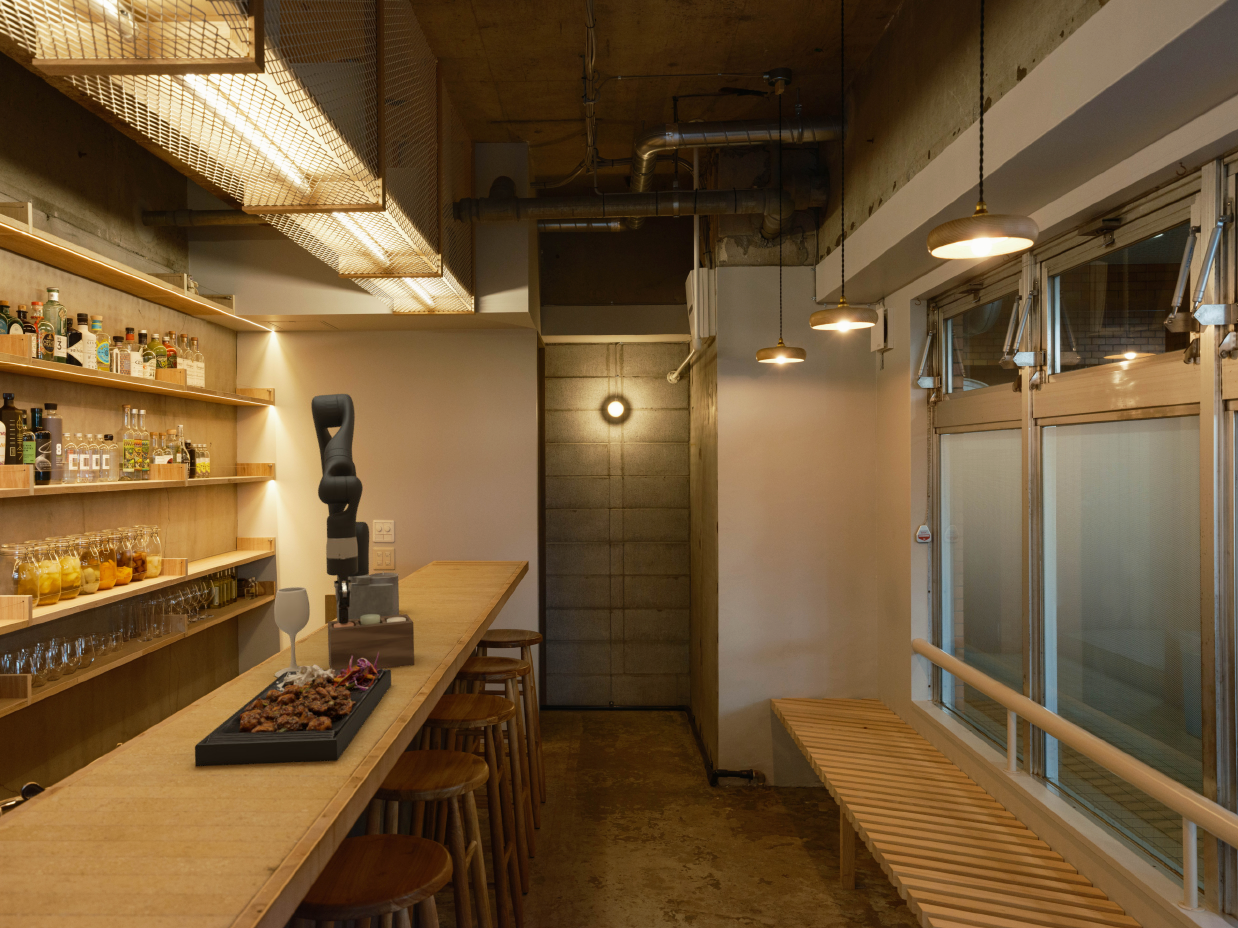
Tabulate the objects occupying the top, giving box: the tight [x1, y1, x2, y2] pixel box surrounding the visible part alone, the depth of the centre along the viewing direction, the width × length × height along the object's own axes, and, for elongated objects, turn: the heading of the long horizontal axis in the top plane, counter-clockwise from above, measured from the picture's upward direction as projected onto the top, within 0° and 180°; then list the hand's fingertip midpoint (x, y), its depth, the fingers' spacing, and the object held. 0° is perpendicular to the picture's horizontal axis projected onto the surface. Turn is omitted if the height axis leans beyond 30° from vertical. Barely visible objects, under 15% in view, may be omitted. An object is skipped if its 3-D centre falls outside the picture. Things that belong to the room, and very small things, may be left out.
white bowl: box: [273, 586, 311, 678], centre depth 199 cm, size 9×9×21 cm
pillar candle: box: [369, 570, 400, 615], centre depth 265 cm, size 10×10×15 cm
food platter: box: [194, 652, 392, 767], centre depth 165 cm, size 45×25×10 cm, turn 4°
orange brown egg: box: [334, 622, 354, 628], centre depth 204 cm, size 5×5×4 cm
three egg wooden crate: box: [327, 613, 415, 670], centre depth 206 cm, size 11×20×11 cm, turn 113°
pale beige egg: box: [387, 617, 406, 623], centre depth 209 cm, size 5×5×4 cm
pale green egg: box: [360, 614, 380, 625], centre depth 206 cm, size 5×5×4 cm
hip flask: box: [336, 576, 394, 621], centre depth 224 cm, size 16×4×20 cm, turn 87°
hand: (343, 622), depth 204 cm, fingers closed
